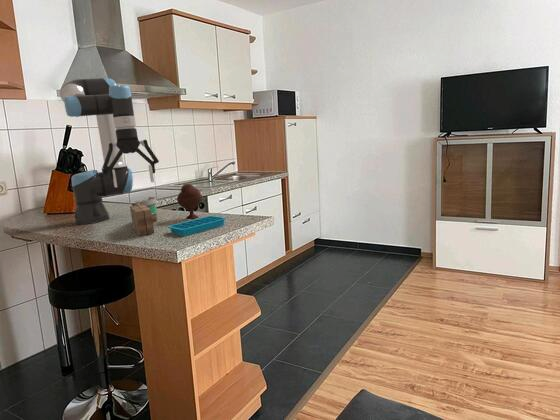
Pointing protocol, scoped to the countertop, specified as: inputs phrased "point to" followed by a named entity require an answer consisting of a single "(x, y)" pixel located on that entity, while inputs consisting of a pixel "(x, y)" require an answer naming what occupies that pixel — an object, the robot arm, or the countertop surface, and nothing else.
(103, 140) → the robot arm
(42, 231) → the countertop surface
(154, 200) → the food container
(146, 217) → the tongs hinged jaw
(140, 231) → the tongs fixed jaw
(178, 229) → the ice cube tray
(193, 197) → the ice cream bowl
